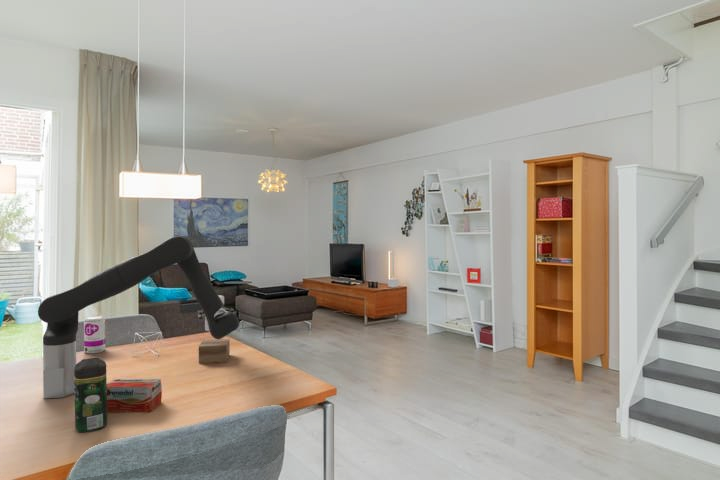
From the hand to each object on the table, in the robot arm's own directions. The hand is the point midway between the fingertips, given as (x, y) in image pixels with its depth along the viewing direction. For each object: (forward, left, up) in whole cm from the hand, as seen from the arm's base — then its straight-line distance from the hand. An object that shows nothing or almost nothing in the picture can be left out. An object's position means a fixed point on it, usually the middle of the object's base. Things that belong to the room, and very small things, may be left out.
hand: (214, 310), depth 194 cm
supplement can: (+18, +54, -21) cm, 60 cm away
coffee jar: (-63, +25, -21) cm, 70 cm away
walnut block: (-2, 0, -20) cm, 20 cm away
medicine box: (-51, +17, -21) cm, 58 cm away
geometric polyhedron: (+10, +30, -21) cm, 37 cm away
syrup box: (-2, 0, -8) cm, 9 cm away
